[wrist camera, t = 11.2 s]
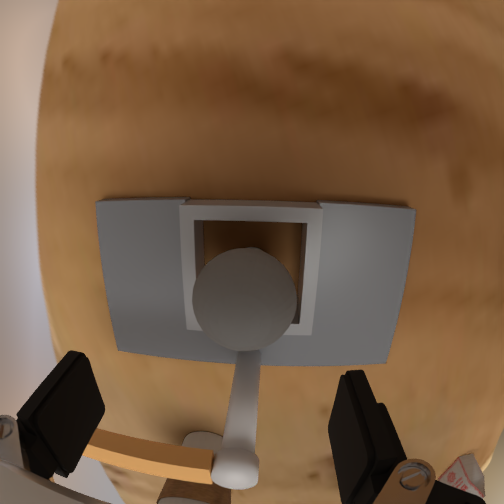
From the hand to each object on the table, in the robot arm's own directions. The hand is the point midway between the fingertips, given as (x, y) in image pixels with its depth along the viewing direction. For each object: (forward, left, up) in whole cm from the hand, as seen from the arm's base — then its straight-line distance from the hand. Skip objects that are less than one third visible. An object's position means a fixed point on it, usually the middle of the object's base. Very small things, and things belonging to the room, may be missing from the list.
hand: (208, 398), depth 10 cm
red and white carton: (-37, +37, -15) cm, 54 cm away
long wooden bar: (+5, +8, -3) cm, 10 cm away
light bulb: (-1, 0, -15) cm, 15 cm away
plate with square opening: (-1, +2, -15) cm, 15 cm away
